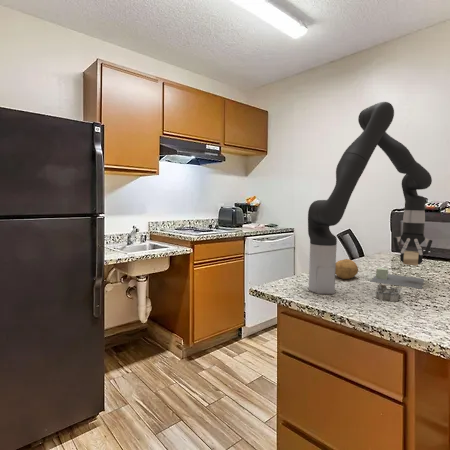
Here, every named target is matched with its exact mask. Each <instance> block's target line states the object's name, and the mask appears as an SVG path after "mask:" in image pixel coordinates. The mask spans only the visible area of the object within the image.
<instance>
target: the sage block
mask: <svg viewBox="0 0 450 450" xmlns="http://www.w3.org/2000/svg"><path fill="white" fill-rule="evenodd" d="M375 269H376V271H375V272H376V273H375V276H376V278H379V279H386V280H387V278H388V274H389V268H386V267H377V268H375Z"/></svg>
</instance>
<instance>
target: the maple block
mask: <svg viewBox="0 0 450 450" xmlns="http://www.w3.org/2000/svg"><path fill="white" fill-rule="evenodd" d="M418 256H419V252H418V251H415V250H414V251H412V250H405V251H404V260H403V262H402V263H403V264H402V265H409V266H416V267H418V266H419V264H418Z"/></svg>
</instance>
